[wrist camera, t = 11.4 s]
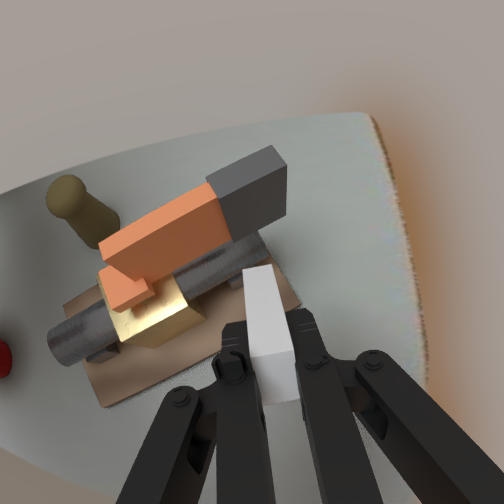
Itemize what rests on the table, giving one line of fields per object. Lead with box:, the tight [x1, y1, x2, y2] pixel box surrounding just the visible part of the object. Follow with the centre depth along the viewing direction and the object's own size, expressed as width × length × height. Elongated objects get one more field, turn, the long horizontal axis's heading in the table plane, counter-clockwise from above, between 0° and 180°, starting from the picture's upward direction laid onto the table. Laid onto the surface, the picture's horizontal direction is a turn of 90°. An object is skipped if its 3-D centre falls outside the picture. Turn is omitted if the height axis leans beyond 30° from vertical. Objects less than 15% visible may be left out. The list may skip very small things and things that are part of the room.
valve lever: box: [98, 145, 287, 313], centre depth 24 cm, size 16×4×8 cm, turn 119°
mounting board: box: [63, 250, 301, 408], centre depth 36 cm, size 14×26×2 cm, turn 119°
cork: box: [46, 175, 120, 249], centre depth 36 cm, size 6×6×11 cm
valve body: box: [47, 231, 268, 367], centre depth 31 cm, size 7×24×8 cm, turn 119°
